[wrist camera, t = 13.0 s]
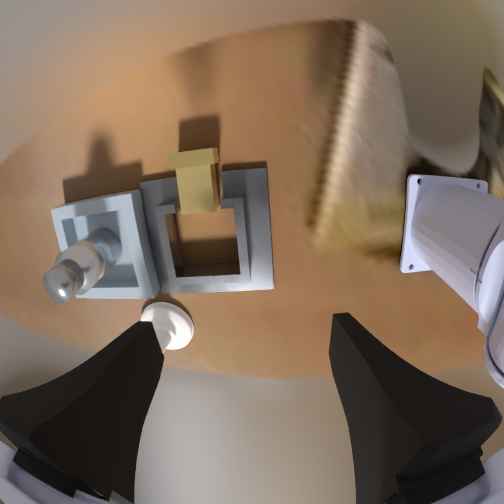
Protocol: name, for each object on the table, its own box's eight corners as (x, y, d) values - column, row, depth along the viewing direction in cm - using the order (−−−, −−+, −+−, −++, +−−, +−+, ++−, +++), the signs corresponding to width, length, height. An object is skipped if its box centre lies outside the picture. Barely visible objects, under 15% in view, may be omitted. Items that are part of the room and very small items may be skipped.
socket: (266, 167, 18) (267, 170, 16) (273, 286, 21) (274, 300, 19) (141, 181, 18) (129, 186, 16) (163, 291, 22) (155, 304, 20)
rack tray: (142, 188, 18) (130, 193, 17) (161, 285, 21) (153, 298, 20) (64, 203, 19) (50, 209, 17) (87, 287, 22) (76, 297, 20)
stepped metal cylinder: (117, 225, 19) (63, 263, 12) (126, 263, 20) (81, 312, 14) (86, 229, 19) (31, 265, 13) (95, 265, 20) (48, 309, 14)
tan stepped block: (218, 147, 17) (212, 147, 15) (223, 204, 19) (219, 211, 17) (178, 152, 17) (168, 154, 15) (185, 208, 19) (176, 215, 17)
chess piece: (138, 298, 22) (85, 380, 13) (192, 304, 22) (157, 399, 13) (146, 341, 24) (108, 422, 15) (195, 348, 24) (171, 438, 15)
